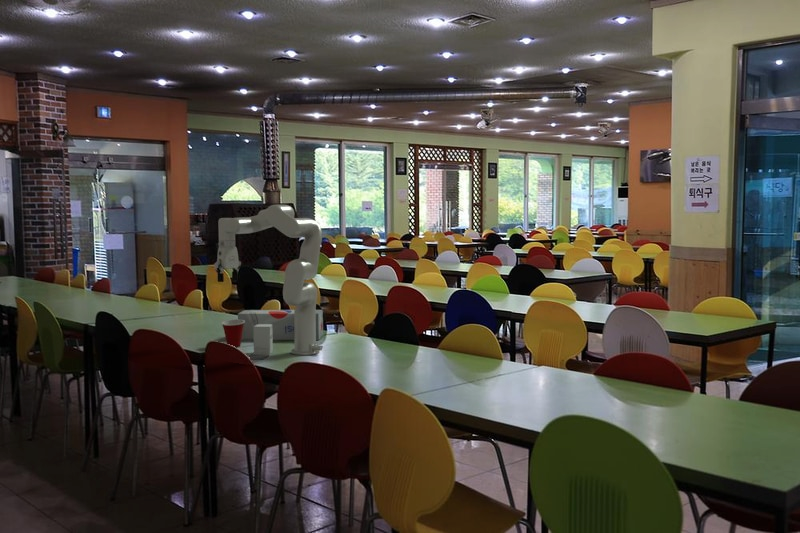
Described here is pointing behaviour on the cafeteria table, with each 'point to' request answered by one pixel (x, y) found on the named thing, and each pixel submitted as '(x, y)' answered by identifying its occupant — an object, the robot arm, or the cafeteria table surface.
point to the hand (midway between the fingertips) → (228, 280)
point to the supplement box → (263, 339)
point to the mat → (257, 357)
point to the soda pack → (275, 323)
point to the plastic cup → (233, 331)
